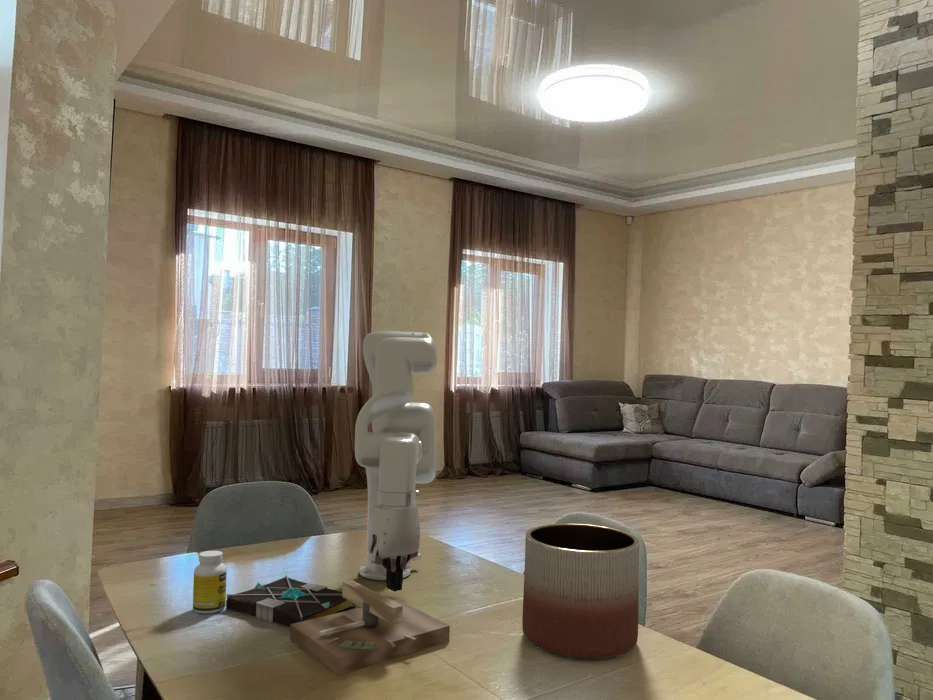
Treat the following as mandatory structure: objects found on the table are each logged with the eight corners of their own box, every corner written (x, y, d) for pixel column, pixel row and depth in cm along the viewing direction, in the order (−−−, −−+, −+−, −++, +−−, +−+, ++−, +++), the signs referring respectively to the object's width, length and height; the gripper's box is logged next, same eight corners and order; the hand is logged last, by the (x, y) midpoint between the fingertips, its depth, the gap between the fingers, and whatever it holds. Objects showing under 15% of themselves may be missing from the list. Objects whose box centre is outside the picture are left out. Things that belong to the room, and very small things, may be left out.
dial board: (396, 613, 149) (396, 598, 149) (455, 644, 134) (455, 627, 134) (289, 640, 134) (290, 623, 134) (342, 679, 119) (343, 659, 119)
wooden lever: (352, 607, 142) (353, 579, 142) (404, 636, 129) (404, 605, 129) (297, 620, 135) (298, 590, 135) (345, 653, 121) (346, 619, 121)
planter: (568, 610, 153) (570, 517, 154) (659, 642, 138) (662, 538, 138) (498, 637, 138) (501, 533, 138) (592, 676, 122) (595, 559, 122)
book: (224, 612, 149) (225, 588, 149) (284, 590, 163) (285, 568, 163) (300, 635, 137) (301, 610, 137) (357, 610, 152) (358, 586, 152)
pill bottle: (215, 616, 145) (217, 558, 145) (186, 613, 146) (188, 556, 146) (231, 605, 151) (232, 550, 151) (203, 603, 152) (204, 548, 152)
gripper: (415, 491, 152) (413, 577, 152) (355, 499, 143) (352, 591, 143) (437, 497, 147) (434, 587, 146) (375, 506, 137) (372, 601, 137)
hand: (394, 588), depth 144 cm, fingers closed
